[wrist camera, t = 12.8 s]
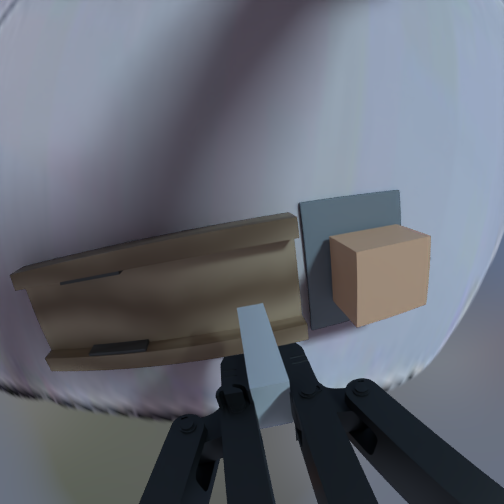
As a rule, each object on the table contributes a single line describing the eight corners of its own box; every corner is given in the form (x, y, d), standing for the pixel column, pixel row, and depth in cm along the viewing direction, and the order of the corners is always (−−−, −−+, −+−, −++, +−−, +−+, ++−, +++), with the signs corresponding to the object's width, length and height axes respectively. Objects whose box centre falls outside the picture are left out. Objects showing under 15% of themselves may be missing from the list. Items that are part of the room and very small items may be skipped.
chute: (23, 266, 21) (9, 274, 19) (288, 212, 23) (296, 216, 21) (60, 358, 24) (51, 371, 22) (300, 325, 26) (308, 339, 24)
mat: (299, 202, 23) (300, 203, 23) (397, 190, 24) (399, 190, 23) (311, 328, 26) (312, 330, 26) (397, 304, 27) (398, 305, 27)
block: (329, 236, 23) (356, 252, 18) (396, 224, 24) (430, 236, 19) (333, 300, 25) (356, 327, 20) (395, 283, 25) (426, 304, 20)
